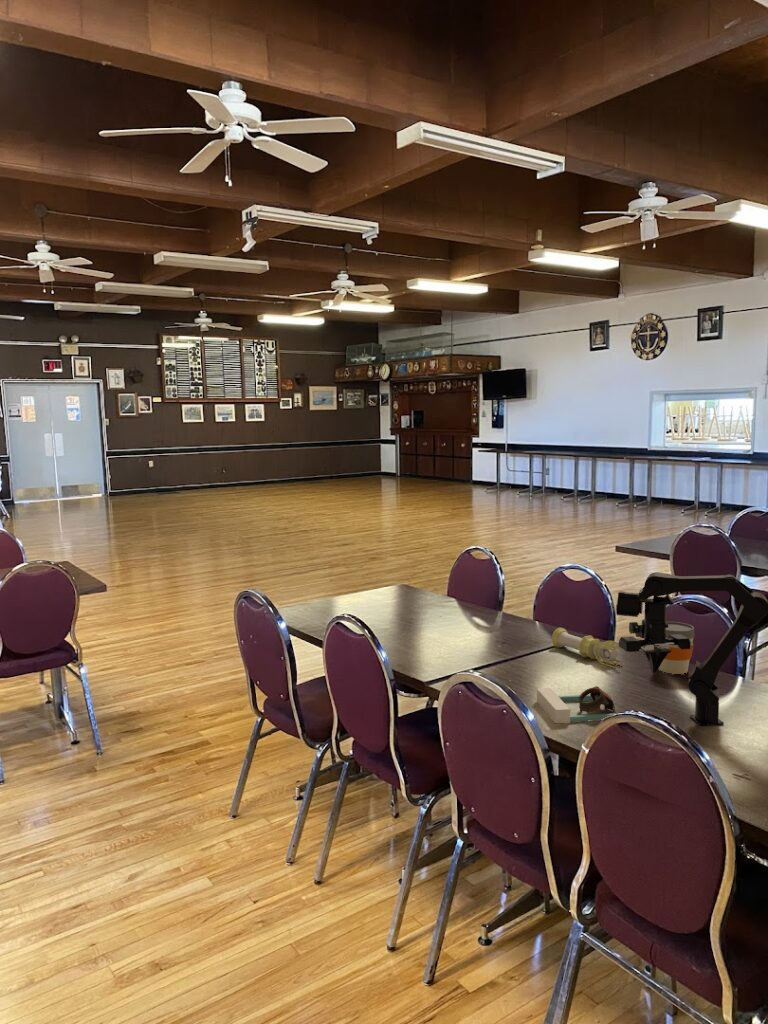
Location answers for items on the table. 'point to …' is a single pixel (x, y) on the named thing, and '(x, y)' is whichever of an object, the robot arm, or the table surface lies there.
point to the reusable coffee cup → (678, 649)
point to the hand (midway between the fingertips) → (653, 672)
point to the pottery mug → (596, 700)
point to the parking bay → (563, 706)
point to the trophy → (588, 646)
